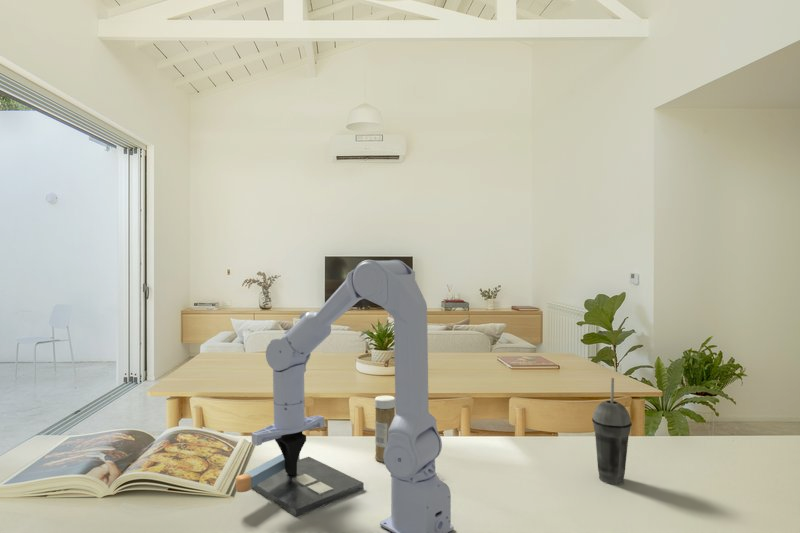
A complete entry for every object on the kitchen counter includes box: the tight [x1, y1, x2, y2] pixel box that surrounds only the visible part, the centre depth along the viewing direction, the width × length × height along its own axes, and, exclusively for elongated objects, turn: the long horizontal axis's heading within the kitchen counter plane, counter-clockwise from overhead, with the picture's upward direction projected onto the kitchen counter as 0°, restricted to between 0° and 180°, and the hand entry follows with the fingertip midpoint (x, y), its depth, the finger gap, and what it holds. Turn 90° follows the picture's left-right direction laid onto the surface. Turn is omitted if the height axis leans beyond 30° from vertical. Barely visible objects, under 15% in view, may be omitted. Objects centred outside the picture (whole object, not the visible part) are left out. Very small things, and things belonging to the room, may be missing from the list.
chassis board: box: [251, 456, 364, 517], centre depth 99 cm, size 18×15×3 cm
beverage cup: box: [591, 377, 633, 485], centre depth 102 cm, size 7×7×20 cm
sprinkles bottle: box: [374, 394, 395, 463], centre depth 113 cm, size 5×5×14 cm
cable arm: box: [235, 453, 300, 493], centre depth 96 cm, size 16×3×2 cm, turn 154°
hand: (290, 473), depth 97 cm, fingers closed, pressing on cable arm
